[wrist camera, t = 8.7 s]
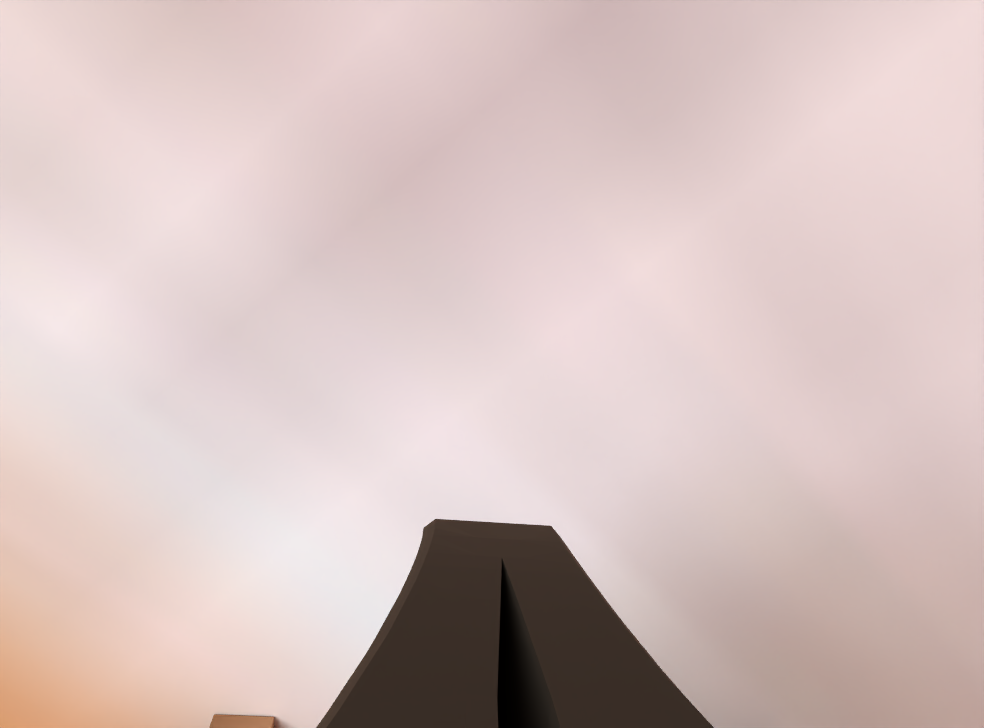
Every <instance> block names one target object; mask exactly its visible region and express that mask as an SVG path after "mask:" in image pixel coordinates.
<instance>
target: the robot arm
mask: <svg viewBox="0 0 984 728" xmlns="http://www.w3.org/2000/svg"><path fill="white" fill-rule="evenodd" d="M316 728H714V727H713V726H712V725H711V724H710V723H709V722H708V721H707V720H706V719H705V718H704V717H703V715H702V714H701V713H700V712H699V711H698V710H697V709H696V708H695V707H694V706H693V705H692V704H691V703H690V701H689V700H688V699H687V698H686V697H685V696H684V695H683V694H682V693H681V691H680V690H679V689H678V688H677V687H676V686H675V684H674V683H673V682H672V681H671V680H670V679H669V678H668V676H667V675H666V674H665V673H664V672H663V671H662V669H661V668H660V667H659V666H658V665H657V663H656V662H655V661H654V660H653V658H652V657H651V656H650V655H649V654H648V652H647V651H646V650H645V649H644V647H643V646H642V645H641V644H640V643H639V641H638V640H637V639H636V638H635V636H634V635H633V634H632V633H631V631H630V630H629V629H628V628H627V627H626V625H625V624H624V623H623V622H622V620H621V619H620V618H619V616H618V615H617V614H616V613H615V611H614V610H613V609H612V607H611V606H610V605H609V603H608V602H607V601H606V599H605V598H604V597H603V595H602V594H601V593H600V591H599V590H598V589H597V587H596V586H595V585H594V583H593V582H592V581H591V579H590V578H589V577H588V575H587V574H586V572H585V571H584V570H583V568H582V567H581V565H580V564H579V563H578V561H577V560H576V558H575V557H574V556H573V554H572V553H571V551H570V550H569V549H568V547H567V546H566V544H565V543H564V542H563V540H562V539H561V537H560V536H559V535H558V534H557V533H556V531H555V530H554V529H553V528H552V526H544V525H527V524H510V523H494V522H477V521H460V520H443V519H435V520H434V521H432V522H431V523H430V524H428V525H427V526H426V527H424V529H423V536H422V541H421V544H420V547H419V551H418V554H417V556H416V559H415V561H414V564H413V566H412V569H411V571H410V573H409V575H408V577H407V580H406V582H405V584H404V586H403V588H402V590H401V592H400V594H399V596H398V598H397V600H396V602H395V604H394V605H393V607H392V609H391V611H390V613H389V614H388V616H387V618H386V620H385V622H384V623H383V625H382V627H381V629H380V631H379V633H378V634H377V636H376V638H375V640H374V641H373V643H372V645H371V646H370V648H369V650H368V651H367V653H366V655H365V656H364V658H363V659H362V661H361V662H360V664H359V665H358V667H357V668H356V670H355V671H354V673H353V674H352V676H351V677H350V679H349V680H348V682H347V683H346V685H345V686H344V688H343V689H342V691H341V692H340V694H339V696H338V697H337V699H336V700H335V702H334V703H333V705H332V706H331V708H330V709H329V711H328V712H327V713H326V715H325V716H324V718H323V719H322V720H321V722H320V723H319V725H318V726H317V727H316Z"/></svg>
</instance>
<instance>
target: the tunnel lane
mask: <svg viewBox="0 0 984 728" xmlns="http://www.w3.org/2000/svg"><path fill="white" fill-rule="evenodd" d="M209 728H274V717H262V716H237V715H214V716H213V719H212V722H211V725H210V727H209Z"/></svg>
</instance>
